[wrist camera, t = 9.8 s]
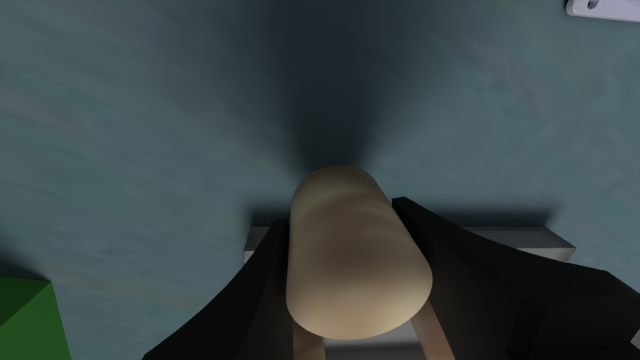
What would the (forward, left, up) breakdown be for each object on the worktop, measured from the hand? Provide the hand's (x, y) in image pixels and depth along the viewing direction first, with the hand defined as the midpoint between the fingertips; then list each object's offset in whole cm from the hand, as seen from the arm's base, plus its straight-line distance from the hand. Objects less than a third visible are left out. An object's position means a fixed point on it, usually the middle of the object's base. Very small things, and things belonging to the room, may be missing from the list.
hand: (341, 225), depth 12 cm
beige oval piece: (0, 0, -2) cm, 2 cm away
